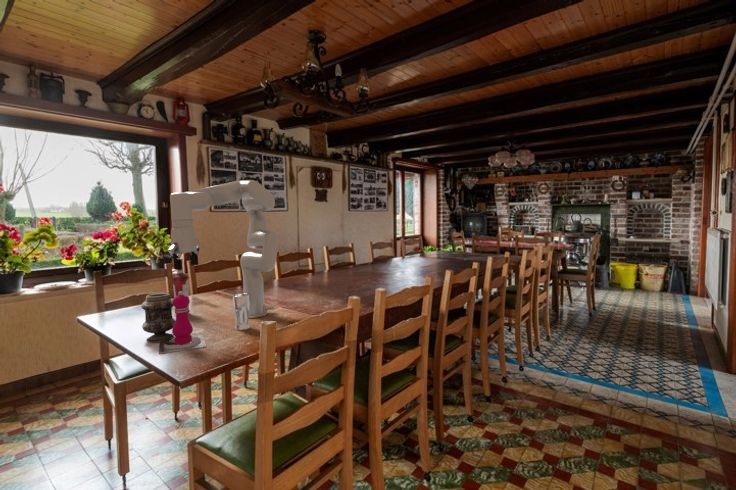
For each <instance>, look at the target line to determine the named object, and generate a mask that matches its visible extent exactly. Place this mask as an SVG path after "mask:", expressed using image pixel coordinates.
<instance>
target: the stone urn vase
mask: <svg viewBox="0 0 736 490" xmlns="http://www.w3.org/2000/svg"><path fill="white" fill-rule="evenodd" d="M173 299H174V298H171V295H170V293H168V292H167V293H165V292H164V293H163V292H162V293H152V294H151V293H150V294H148V295H146V296H145V300H144V301H143V302H142V303H141V308H142V310H144V313H145V317H144V319H145V321H144V322H143V323H142V325H141V328H142V330H143V331H144V332H146V333H150V334H152V335H151V336H149V337H147V338H146V342H149V343H157V342H159V343H160V341H165V340H168V339H174V338H175V336H174V335H173V333H168V332H169V331H170V330H171V331H172V330H173V326H174V323H175V321H176V319H174V317H173V310H172V308H173V307H174V306H173Z"/></svg>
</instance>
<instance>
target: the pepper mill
mask: <svg viewBox="0 0 736 490" xmlns="http://www.w3.org/2000/svg"><path fill="white" fill-rule="evenodd" d="M172 299H173V307H174V308H173V309H174V313H175V312H176V314H175V323H174V326H173V328H172V329H171V331H172V333H171V334H173V335H174V337H173V339H174V343H176V344H185V343H189V342H191V341H192V336H193V335H192V334H193V331H194V328H193V325H192V323H191V321H190V319H189V316H188V314H189V313H188V310H190V308H189V307H188V305H189V306H190V302H191V301H190V298H188V297H187V296H186V295H183V292H182V291H180V292H178V296H176V297H175V298H172ZM188 308H189V309H188Z"/></svg>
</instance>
